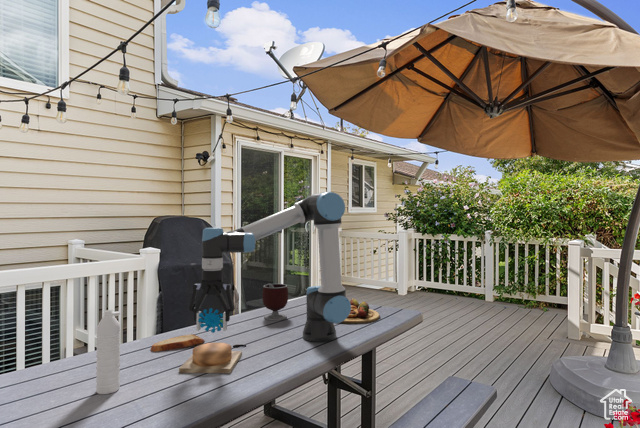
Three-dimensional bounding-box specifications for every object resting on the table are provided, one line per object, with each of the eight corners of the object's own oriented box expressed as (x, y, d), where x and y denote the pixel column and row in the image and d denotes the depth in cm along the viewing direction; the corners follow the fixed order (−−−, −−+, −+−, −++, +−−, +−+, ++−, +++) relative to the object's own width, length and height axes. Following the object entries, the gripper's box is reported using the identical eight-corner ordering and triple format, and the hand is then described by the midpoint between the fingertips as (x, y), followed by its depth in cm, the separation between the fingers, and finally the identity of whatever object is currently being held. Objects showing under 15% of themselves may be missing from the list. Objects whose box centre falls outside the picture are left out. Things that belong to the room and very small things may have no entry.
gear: (200, 330, 141) (198, 306, 148) (195, 339, 144) (193, 315, 151) (230, 330, 147) (227, 307, 153) (225, 339, 150) (222, 316, 156)
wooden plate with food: (311, 321, 208) (311, 305, 208) (332, 307, 238) (332, 293, 238) (370, 328, 196) (371, 312, 196) (385, 313, 226) (385, 299, 226)
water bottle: (92, 391, 124) (92, 311, 124) (113, 384, 129) (113, 307, 129) (106, 398, 119) (106, 314, 119) (127, 390, 124) (128, 310, 124)
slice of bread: (146, 352, 161) (146, 342, 161) (171, 338, 178) (171, 330, 178) (186, 355, 157) (186, 345, 157) (208, 341, 175) (208, 332, 175)
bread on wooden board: (241, 355, 156) (241, 341, 156) (230, 373, 138) (230, 357, 138) (196, 354, 157) (196, 340, 157) (179, 372, 139) (179, 356, 139)
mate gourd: (269, 313, 224) (269, 277, 224) (292, 315, 219) (292, 279, 219) (256, 320, 209) (256, 282, 209) (280, 322, 204) (280, 283, 205)
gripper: (179, 270, 144) (178, 332, 144) (239, 270, 144) (238, 333, 143) (186, 267, 152) (186, 326, 151) (243, 268, 151) (243, 327, 151)
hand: (211, 329), depth 147 cm, fingers closed on gear, 9 cm apart
